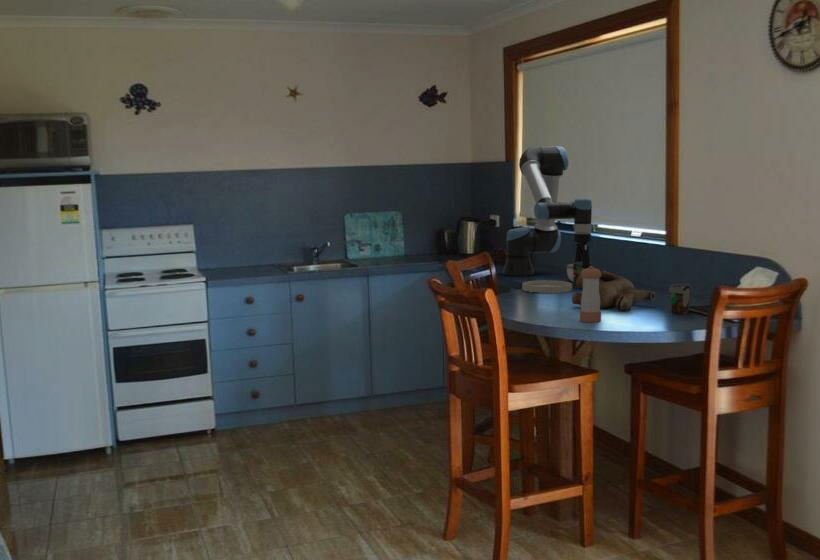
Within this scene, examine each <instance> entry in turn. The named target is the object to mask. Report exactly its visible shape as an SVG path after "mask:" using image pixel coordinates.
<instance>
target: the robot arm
mask: <svg viewBox="0 0 820 560" xmlns="http://www.w3.org/2000/svg"><path fill="white" fill-rule="evenodd" d="M518 163H519V164H518V165H519V166H518V167H519V171H520V173H521V174H522V175H523V176H524V177H525V180H526V182H527V184H528V186H529V189H530V192H531V195H532V197H533V199H534V201H535V205H534V207H533V208H534V209H533V213H534V215H533V216H534V217H535V219H537V223H535V224H534V225H533V226H534V227H533V229H531V228H530V227H528V226H526V227H525V226H524V227H517V228H512V229H509V230H508V231H507V232H506V260H505V264H504V266H503V270H502V271H503V272H502V273H503V275H505V276H512V277H524V276H525V277H526V276H533V275H534V268H533V264H532V262H531V254H541V253H542V254H549V253H555V252H557V251H558V250H559V248H560V245H561V241H562V236H561V235H562V234H561V233H562V232H561V231H560V230H559V227H558V226H557V224H556V220H570V219H571V220H574V221H573V223H574V224H573V225H572V228H573V232H574V234H573V242H574V243H576V249H575V255H574V256H575V258H574V262H582V264H583V266H582V267H581V268H582V270H584V269H587V268H589V267H590V262H591V261H590V250H589V249H590V248H589V247H590V246H589V244H587V243H591V242H592V234H591V233H592V224H593V223H592V211H593V210H592V209H593V204H592V199H591V198H586V197H585V198H580V197H579V198H575V199H574V201H569V202H568V201H566V202H558V195H559V186H560V185H559V184H560V178H561V177H563V175H564V171H568V168H569V155H568V152H567V150H566V149H565V147H563V146H557V145H547V146H546V145H545V146H544V145H539V146H537V145H536V146H535V145H534V146H530V147H529V148H527V149H526V150H524V151H523V152H522V154H521V156H520V157H519V162H518Z"/></svg>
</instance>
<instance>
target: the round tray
mask: <svg viewBox="0 0 820 560" xmlns="http://www.w3.org/2000/svg"><path fill="white" fill-rule="evenodd" d="M521 285H522V290H523V291H524V292H527V291H529V292H528V293H532V292H539V293H538V294H562V293H570V292H571V291H573V282H570V281H569V282H568V281H563V280H551V279H549V280H548V279H547V280H545V279H544V280H542V279H541V280H530V281H529V280H528V281H524V282H522V284H521Z"/></svg>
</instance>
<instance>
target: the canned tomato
mask: <svg viewBox="0 0 820 560" xmlns="http://www.w3.org/2000/svg"><path fill="white" fill-rule="evenodd" d="M572 264H573V282H572V288H576V289H581V288H580V287H577V286H576V284H575V282H576V279H577V277H578V275H581V272H582V268H581V267H582V266H583V264H582V262H575V261H574V262H573V263H572ZM590 266H592V262H591V261H590Z"/></svg>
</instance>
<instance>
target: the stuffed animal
mask: <svg viewBox="0 0 820 560" xmlns="http://www.w3.org/2000/svg"><path fill="white" fill-rule="evenodd" d="M600 272H601V277H600V278H599V295H600V310H601V309H608V308H611V307H615V308H616V309H617V310H622V311H626V312H627V311H631V309H632V306H633V304H638V303H640V302H642V301H644V300H646V301H649V302H653V301H654V300H655V298H656V293H655V291H652V290H651V291H650V290H645V289H640V288H635V285H634V284H633V283H632V282H631V281H630V280H629V279H627V278H624V277H622V276H619V275H617V274H614V273H613V272H612V273H611V272H608V271H606V270H602V271H600ZM600 280H601V281H600ZM575 284H576V286H577V287H580V288H579V289H583V277H582V276H581V275H578V277H577V279H576V282H575ZM581 298H582V292H574V293H573V294H572V298H571V301H572V304H573V305H579V306H581Z"/></svg>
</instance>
